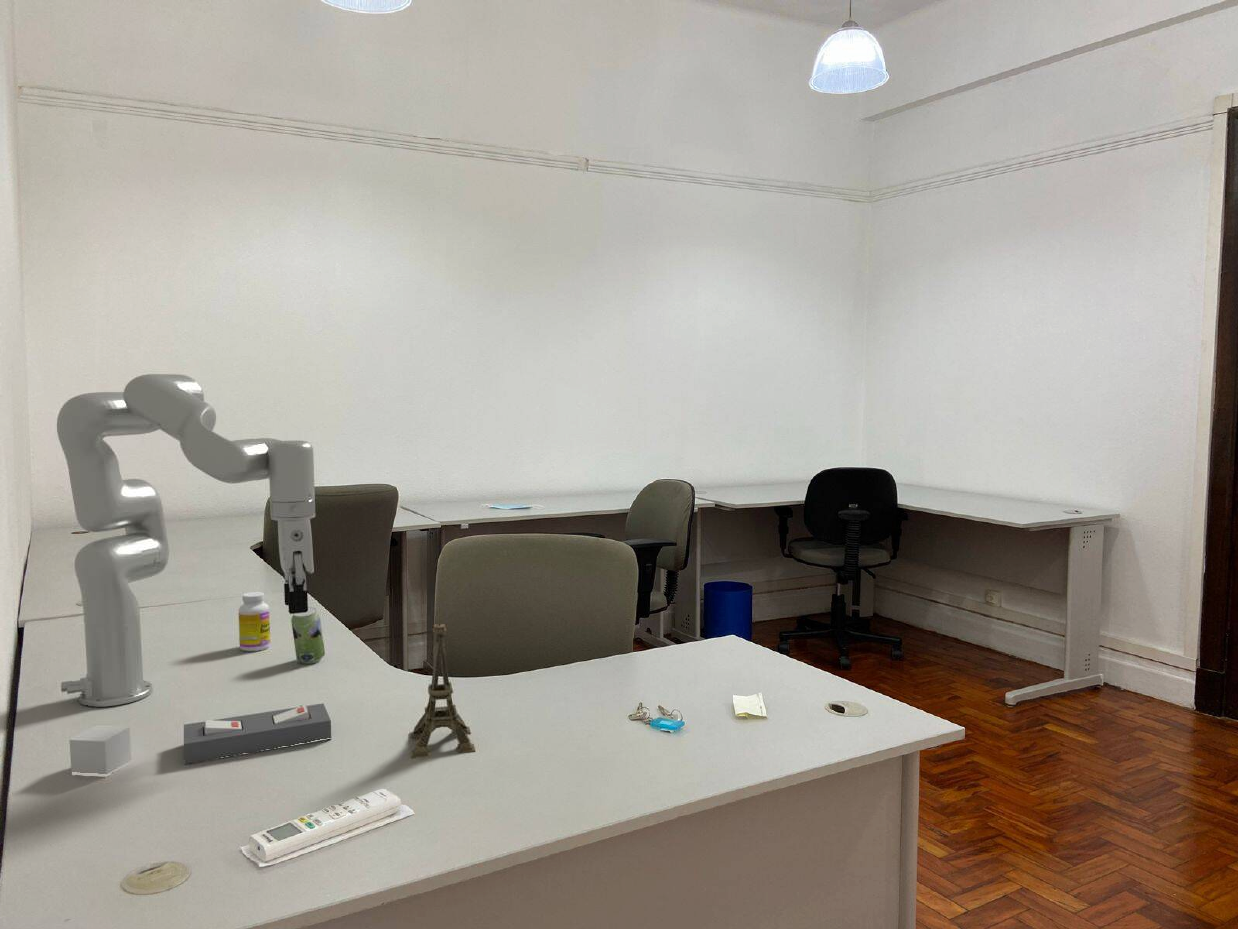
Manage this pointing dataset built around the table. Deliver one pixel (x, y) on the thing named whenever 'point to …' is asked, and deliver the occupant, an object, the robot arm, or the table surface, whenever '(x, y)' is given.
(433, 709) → the eiffel tower
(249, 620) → the supplement bottle
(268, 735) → the rocker switch panel
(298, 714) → the right rocker
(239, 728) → the left rocker
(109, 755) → the pale grey cube
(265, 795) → the table surface
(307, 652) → the beverage can
